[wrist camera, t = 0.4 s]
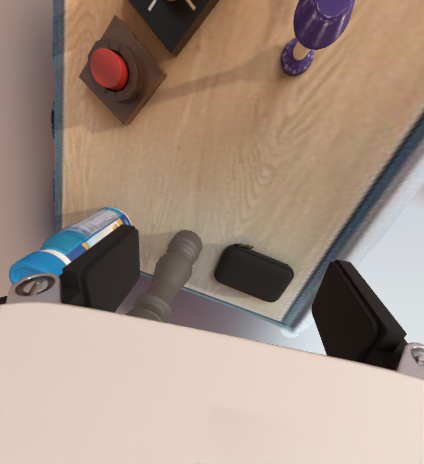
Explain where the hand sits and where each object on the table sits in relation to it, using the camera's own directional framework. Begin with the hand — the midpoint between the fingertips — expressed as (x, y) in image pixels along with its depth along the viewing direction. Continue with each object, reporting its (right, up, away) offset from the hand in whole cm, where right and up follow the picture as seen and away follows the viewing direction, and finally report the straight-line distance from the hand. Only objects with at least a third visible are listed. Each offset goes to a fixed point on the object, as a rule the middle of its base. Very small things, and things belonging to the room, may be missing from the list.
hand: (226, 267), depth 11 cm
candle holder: (-6, -1, +35) cm, 36 cm away
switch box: (-14, +26, +24) cm, 38 cm away
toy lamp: (+11, +26, +20) cm, 34 cm away
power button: (-15, +25, +21) cm, 35 cm away
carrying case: (+8, -6, +35) cm, 37 cm away
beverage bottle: (-21, +3, +36) cm, 42 cm away
